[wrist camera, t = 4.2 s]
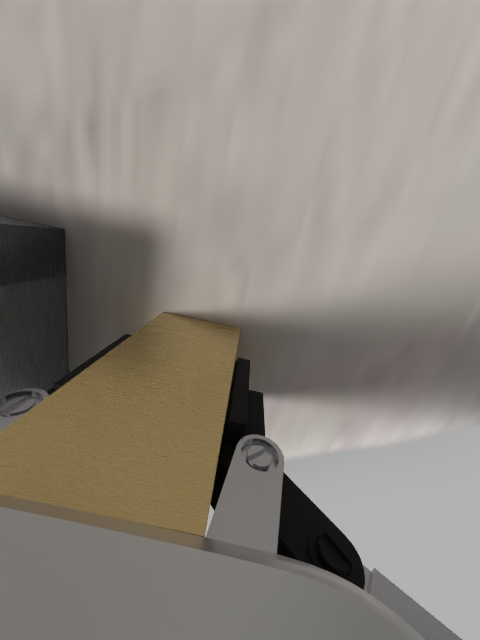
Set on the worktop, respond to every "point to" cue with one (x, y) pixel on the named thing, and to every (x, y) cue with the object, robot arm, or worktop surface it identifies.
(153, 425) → the brass peg
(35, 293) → the grey peg board
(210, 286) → the worktop surface
